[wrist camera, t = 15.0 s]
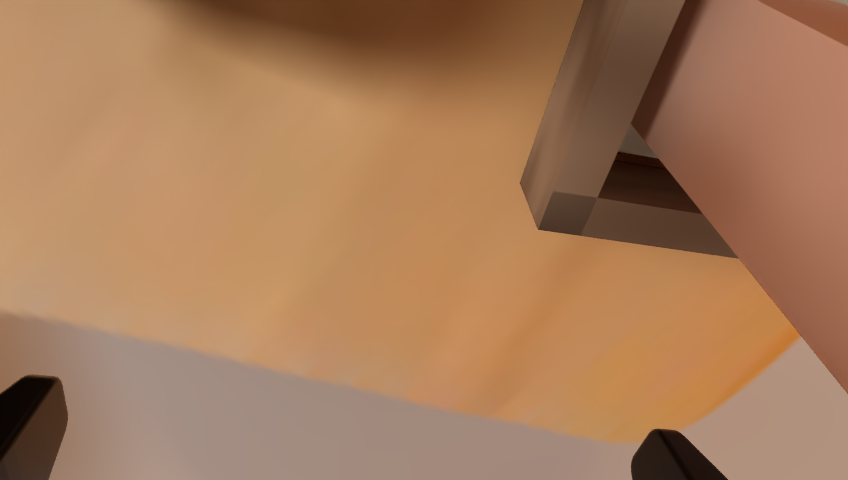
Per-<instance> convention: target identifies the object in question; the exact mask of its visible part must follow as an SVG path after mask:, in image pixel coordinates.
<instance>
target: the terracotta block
mask: <svg viewBox="0 0 848 480" xmlns="http://www.w3.org/2000/svg"><path fill="white" fill-rule="evenodd" d="M631 125H632V126H633V127H634V128H635V130H636V131H637V132H638V133H639V135H640V136H641V137H642V138H643V140H644V141H645V142H646V143H647V145H648V146H649V147H650V148H651V150H652V151H653V152H654V153H655V155H656V156H657V157H658V158H659V160H660V161H661V162H662V163H663V165H664V166H665V167H666V168H667V170H668V171H669V172H670V173H671V175H672V176H673V177H674V178H675V179H676V181H677V182H678V183H679V184H680V186H681V187H682V188H683V189H684V191H685V192H686V193H687V194H688V196H689V197H690V198H691V199H692V201H693V202H694V203H695V204H696V206H697V207H698V208H699V209H700V211H701V212H702V213H703V214H704V216H705V217H706V218H707V219H708V221H709V222H710V223H711V224H712V226H713V227H714V228H715V229H716V231H717V232H718V233H719V234H720V236H721V237H722V238H723V239H724V241H725V242H726V243H727V244H728V245H729V247H730V248H731V249H732V250H733V252H734V253H735V254H736V255H737V257H738V258H739V259H740V260H741V262H742V263H743V264H744V265H745V267H746V268H747V269H748V270H749V272H750V273H751V274H752V275H753V277H754V278H755V279H756V280H757V282H758V283H759V284H760V285H761V287H762V288H763V289H764V290H765V292H766V293H767V294H768V295H769V297H770V298H771V299H772V300H773V302H774V303H775V304H776V305H777V306H778V308H779V309H780V310H781V311H782V313H783V314H784V315H785V316H786V318H787V319H788V320H789V321H790V323H791V324H792V325H793V326H794V328H795V329H796V330H797V331H798V333H799V334H800V335H801V336H802V338H803V339H804V340H805V341H806V343H807V344H808V345H809V346H810V348H811V349H812V350H813V351H814V353H815V354H816V355H817V356H818V358H819V359H820V360H821V361H822V363H823V364H824V365H825V366H826V368H827V369H828V370H829V371H830V372H831V374H832V375H833V376H834V377H835V379H836V380H837V381H838V382H839V384H840V385H841V386H842V387H843V389H844V390H845V391H846V392H847V394H848V6H847V5H845V4H842V3H838V2H834V1H830V0H685V2H684V4H683V7H682V9H681V11H680V13H679V16H678V18H677V20H676V22H675V25H674V27H673V29H672V31H671V34H670V36H669V38H668V40H667V43H666V45H665V47H664V49H663V51H662V54H661V56H660V58H659V60H658V63H657V65H656V67H655V69H654V72H653V74H652V76H651V78H650V81H649V83H648V85H647V87H646V90H645V92H644V94H643V96H642V99H641V101H640V103H639V105H638V108H637V110H636V112H635V114H634V117H633V119H632V121H631Z"/></svg>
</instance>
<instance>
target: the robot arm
mask: <svg viewBox="0 0 848 480" xmlns="http://www.w3.org/2000/svg"><path fill="white" fill-rule="evenodd" d="M67 421H68V411H67V406H66V401H65V396H64V391H63V385H62V382H61V380H60V379H59V378H58V377H55V376H44V375H27V376H24V377H22V378H21V379H19V380H18V381H16V382H15V383H14V384H12V385H11V386H10V387H9V388H7V389H6V390H4V391H3V392H2V393H0V480H49V477H50V474H51V471H52V468H53V465H54V462H55V460H56V457H57V454H58V451H59V448H60V445H61V442H62V440H63V437H64V434H65V431H66V426H67ZM631 473H632V479H633V480H728V479H727V478H726V477H725V476H724V475H723V474H722V473H721V472H720V471H719V470H718V469H717V468H716V467H715V466H714V465H713V464H712V463H711V462H710V461H709V460H708V459H707V458H706V457H705V456H704V455H703V454H702V453H701V452H700V451H699V450H697V448H696V447H695V446H694V445H693V444H692V443H691V442H690V441H689V440H688V439H687V438H686V437H685V436H683V435H682V434H681V433H680V432H678V431H675V430H667V429H654V430H652V431H651V432H650V433H649V434H648V436H647V437H646V438H645V440H644V441H643V443H642V444H641V446H640V447H639V449H638V450H637V452H636V453H635V455H634V456H633V459H632V463H631Z"/></svg>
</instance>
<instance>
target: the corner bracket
mask: <svg viewBox="0 0 848 480" xmlns="http://www.w3.org/2000/svg"><path fill="white" fill-rule="evenodd" d="M830 1H834V2H838V3H842V4H845V5H847V6H848V0H830ZM684 2H685V0H584V3H583V6H582V9H581V11H580V14H579V17H578V20H577V23H576V26H575V28H574V31H573V34H572V37H571V40H570V43H569V45H568V48H567V51H566V54H565V57H564V60H563V62H562V65H561V68H560V71H559V74H558V77H557V79H556V82H555V85H554V88H553V91H552V94H551V96H550V99H549V102H548V105H547V108H546V111H545V113H544V116H543V119H542V122H541V125H540V128H539V130H538V133H537V136H536V139H535V142H534V145H533V147H532V150H531V153H530V156H529V159H528V162H527V164H526V167H525V170H524V173H523V176H522V179H521V181H520V184H521V187H522V189H523V192H524V195H525V197H526V200H527V202H528V205H529V208H530V210H531V213H532V215H533V218H534V221H535V223H536V226H537V228H538V230H544V231H551V232H558V233H565V234H572V235H579V236H586V237H593V238H600V239H607V240H614V241H621V242H628V243H635V244H642V245H649V246H656V247H663V248H670V249H676V250H683V251H690V252H697V253H704V254H711V255H718V256H725V257H732V258H738V257H737V255H736V254H735V253H734V252H733V250H732V249H731V248H730V247H729V245H728V244H727V243H726V242H725V241H724V239H723V238H722V237H721V236H720V234H719V233H718V232H717V231H716V229H715V228H714V227H713V226H712V224H711V223H710V222H709V221H708V219H707V218H706V217H705V216H704V214H703V213H702V212H701V211H700V209H699V208H698V207H697V206H696V204H695V203H694V202H693V201H692V199H691V198H690V197H689V196H688V194H687V193H686V192H685V191H684V189H683V188H682V187H681V186H680V184H679V183H678V182H677V181H676V179H675V178H674V177H673V176H672V175H671V173H670V172H669V171H668V170H667V169H661V168H655V167H649V166H643V165H637V164H631V163H626V162H620V161H614V159H615V157H616V155H617V153H618V152H624V153H629V154H635V155H641V156H647V157H653V158H658V157H657V156H656V155H655V153H654V152H653V151H652V150H651V148H650V147H649V146H648V145H647V143H646V142H645V141H644V140H643V138H642V137H641V136H640V135H639V133H638V132H637V131H636V130H635V128H634V127H633V126H632V125H631V121H632V119H633V117H634V114H635V112H636V110H637V108H638V105H639V103H640V101H641V99H642V96H643V94H644V92H645V90H646V87H647V85H648V83H649V81H650V78H651V76H652V74H653V72H654V69H655V67H656V65H657V63H658V60H659V58H660V56H661V54H662V51H663V49H664V47H665V45H666V43H667V40H668V38H669V36H670V34H671V31H672V29H673V27H674V25H675V22H676V20H677V18H678V16H679V13H680V11H681V9H682V7H683V4H684ZM658 159H659V158H658Z"/></svg>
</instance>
